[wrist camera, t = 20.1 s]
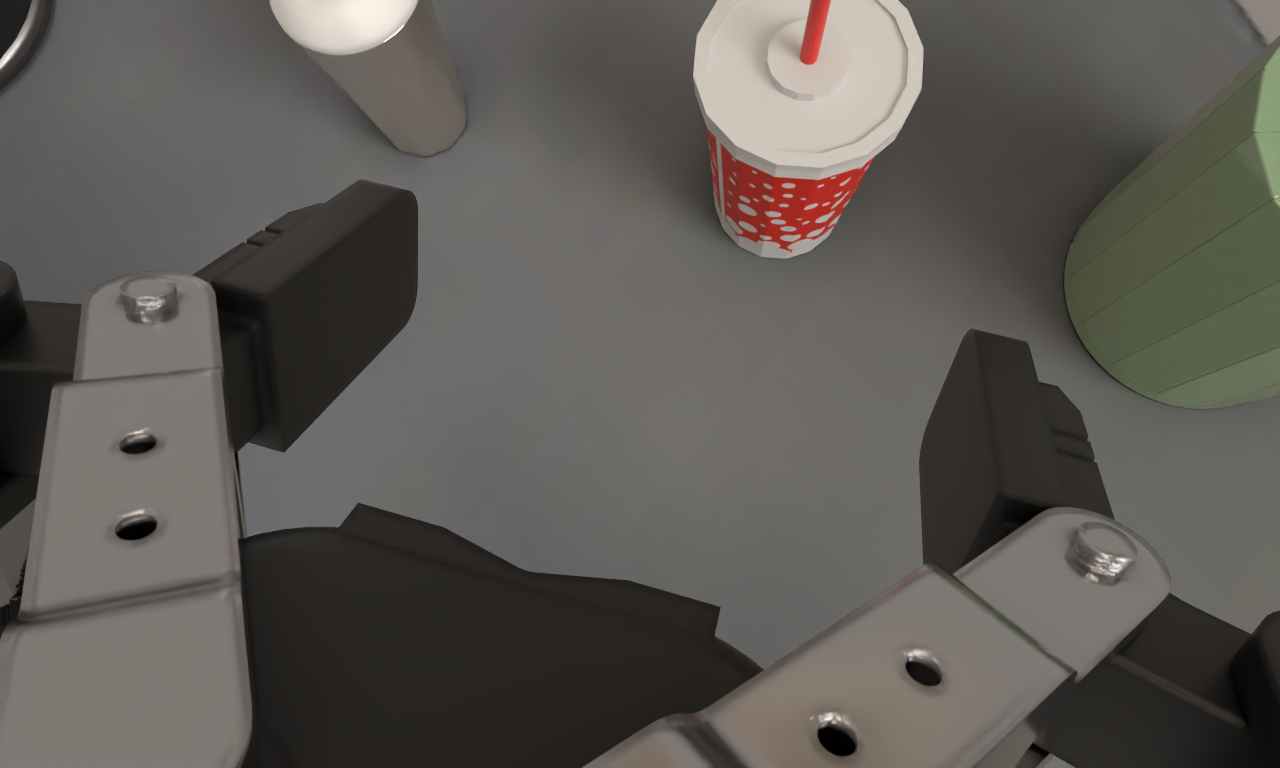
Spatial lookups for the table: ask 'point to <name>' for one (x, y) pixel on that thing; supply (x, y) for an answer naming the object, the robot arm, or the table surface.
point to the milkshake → (385, 64)
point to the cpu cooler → (14, 562)
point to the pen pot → (1191, 256)
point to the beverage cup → (800, 110)
